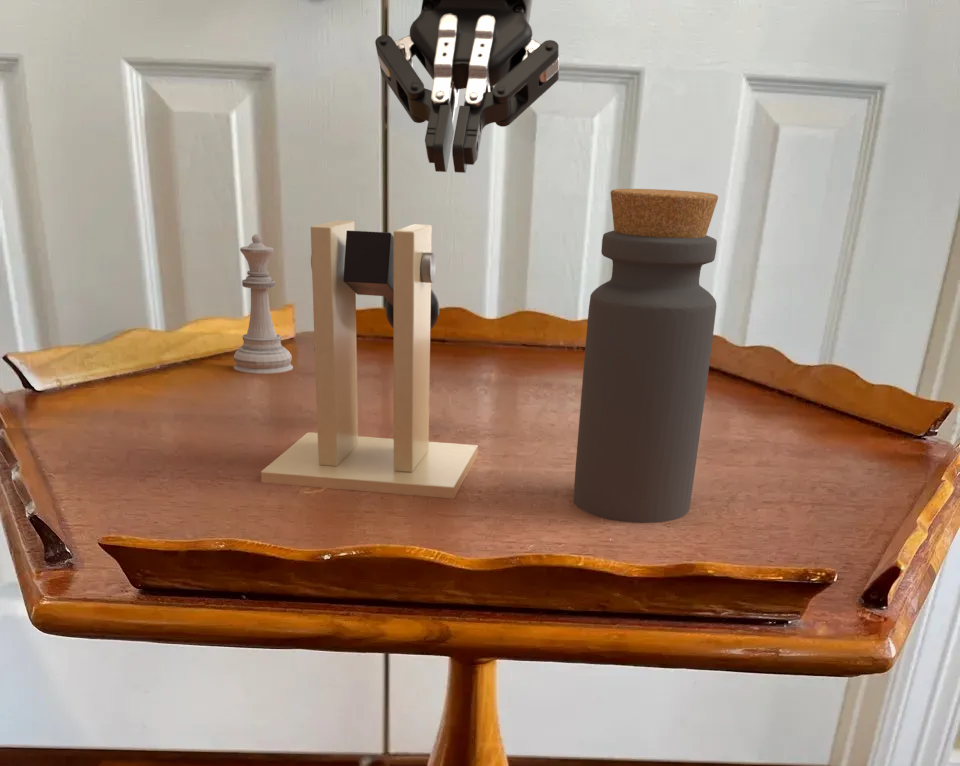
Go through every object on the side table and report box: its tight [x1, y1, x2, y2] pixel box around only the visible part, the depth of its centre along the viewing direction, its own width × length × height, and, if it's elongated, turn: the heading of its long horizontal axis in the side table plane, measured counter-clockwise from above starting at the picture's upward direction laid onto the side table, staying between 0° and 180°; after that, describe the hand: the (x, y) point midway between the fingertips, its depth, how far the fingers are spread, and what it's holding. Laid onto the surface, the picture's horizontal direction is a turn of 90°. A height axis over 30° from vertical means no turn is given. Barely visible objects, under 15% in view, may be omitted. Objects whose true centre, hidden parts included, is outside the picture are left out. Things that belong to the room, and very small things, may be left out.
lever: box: [343, 230, 440, 331], centre depth 56 cm, size 13×3×3 cm, turn 171°
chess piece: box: [233, 234, 294, 375], centre depth 75 cm, size 4×4×10 cm
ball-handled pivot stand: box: [260, 219, 479, 499], centre depth 53 cm, size 8×10×13 cm
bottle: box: [572, 188, 719, 524], centre depth 48 cm, size 6×6×15 cm
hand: (449, 162), depth 67 cm, fingers closed
